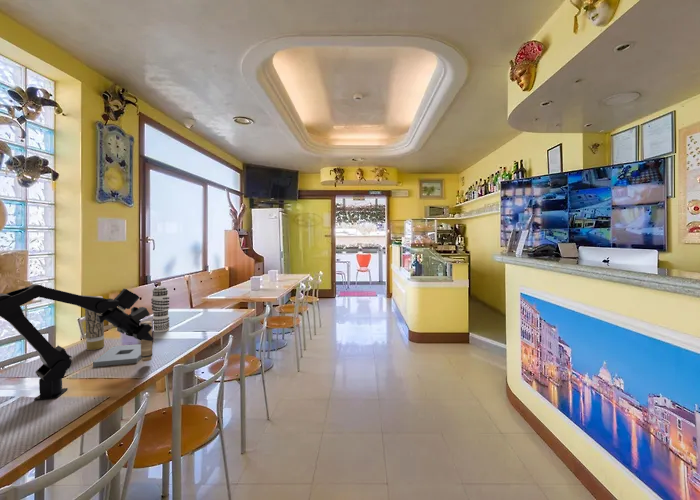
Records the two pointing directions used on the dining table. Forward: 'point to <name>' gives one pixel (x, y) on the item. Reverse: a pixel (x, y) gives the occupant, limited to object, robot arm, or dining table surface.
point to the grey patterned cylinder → (94, 330)
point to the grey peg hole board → (120, 355)
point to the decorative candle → (160, 309)
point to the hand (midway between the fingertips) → (149, 338)
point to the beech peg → (146, 346)
